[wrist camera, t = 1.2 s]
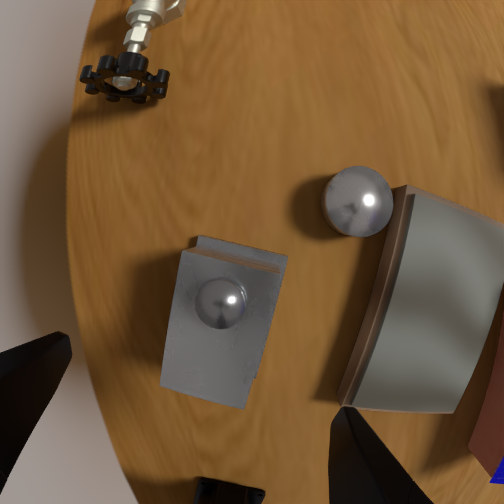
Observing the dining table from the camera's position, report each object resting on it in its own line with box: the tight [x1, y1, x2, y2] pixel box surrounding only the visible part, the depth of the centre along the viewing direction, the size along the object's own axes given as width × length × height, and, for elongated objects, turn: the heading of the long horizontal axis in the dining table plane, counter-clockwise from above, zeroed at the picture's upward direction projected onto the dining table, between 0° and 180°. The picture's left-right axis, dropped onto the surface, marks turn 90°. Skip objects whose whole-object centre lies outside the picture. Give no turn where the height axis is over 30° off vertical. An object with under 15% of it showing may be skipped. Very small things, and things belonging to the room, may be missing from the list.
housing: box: [160, 235, 288, 409], centre depth 18 cm, size 9×6×7 cm, turn 167°
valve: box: [79, 0, 187, 104], centre depth 16 cm, size 7×7×12 cm
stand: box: [336, 185, 504, 414], centre depth 19 cm, size 16×11×2 cm
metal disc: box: [321, 166, 393, 237], centre depth 19 cm, size 4×4×2 cm
